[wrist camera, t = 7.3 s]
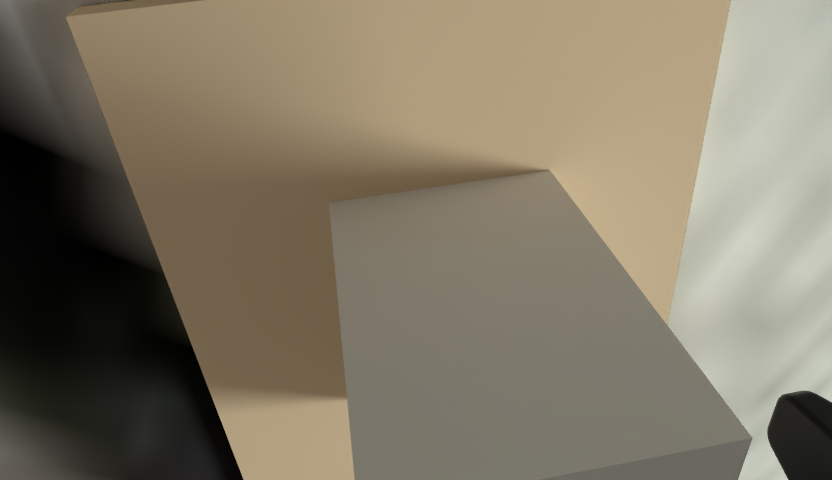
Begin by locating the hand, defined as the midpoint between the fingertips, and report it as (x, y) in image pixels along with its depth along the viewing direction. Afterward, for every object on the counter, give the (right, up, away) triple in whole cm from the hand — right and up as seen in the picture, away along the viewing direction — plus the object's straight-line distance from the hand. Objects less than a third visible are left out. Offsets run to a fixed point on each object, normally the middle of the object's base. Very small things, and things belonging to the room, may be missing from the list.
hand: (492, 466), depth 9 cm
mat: (-1, +3, +4) cm, 5 cm away
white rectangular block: (0, +2, +3) cm, 4 cm away
